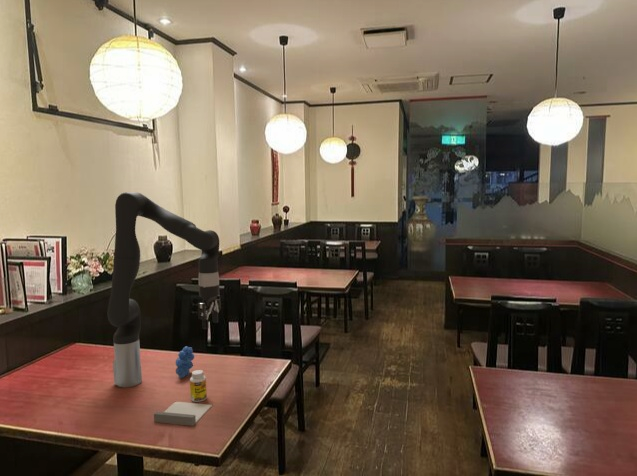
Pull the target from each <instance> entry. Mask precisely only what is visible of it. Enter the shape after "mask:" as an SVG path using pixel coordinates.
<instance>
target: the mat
mask: <svg viewBox="0 0 637 476" xmlns="http://www.w3.org/2000/svg"><path fill="white" fill-rule="evenodd" d="M212 407H213V405H212V404H206V403H205V404H204V403H197V402H184V401H175V402H174V403H172V404H171V405H170V406H169V407H167V408H166V410H164V411H158V410H156V411H154V413H153V422H154V423H161V424H171V425H182V426H188V427H190V426H191V427H194V426H195V425H196V424H197V423H198V421H200V420H201V418H203V416H205V414H206V413H207V412H208V411H209V410H210V409H211V408H212Z"/></svg>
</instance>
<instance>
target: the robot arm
mask: <svg viewBox="0 0 637 476" xmlns="http://www.w3.org/2000/svg"><path fill="white" fill-rule="evenodd" d="M114 204H115V205H114V206H115V207H114V208H115V210H114V211H115V212H114V213H115V235H114V236H115V237H114V253H113V260H112V261H113V263H112V264H113V265H112V266H113V268H112V276H111V277H112V280H111V290H110V295H109V300H108V301H109V302H108V305H107V313H106V314H107V320H108V322H109V323H110V324H111V326H113V327H116V328H117V329H116V331H115V332H114V334H113V336H112V337H113V338H112V340H113V350H114V351H113V352H114V360H113V361H112V368H113V370H112V371H113V383H114V385H115V386H117V387H119V388H131V387H135V386H138V385H139V384H140V383H142V381H143V375H142V362H141V361H142V359H141V347H140V333H141V329H142V328H141V327H142V325H141V323H142V322H141V309H140V306H139V303H138V302H137V301H136V300H135V299H133V298H130V297H131V291H132V287H133V285H134V283H135V281H136V279H137V275H138V272H139V271H140V270H139V269H140V264H141V263H140V262H141V248H140V244H139V241H138V238H137V235H136V223H137V217H142V218H144V219H145V218H146V219H148V220H150V221H153V222H155V224H156V223H157V224H158V225H159V226H160V227H161V228H162V229H164V230H165V231H166V232H169V233H170V234H172V235H173V236H176V237H178V238H179V239H182V240H184V241H186V242H187V243H188V244H190V245H191V246H193V247H194V248H196V249H198V250H201V256H200V257H199V258H198V297H200V298H201V299H202V302H198V303H197V317H198V320H201V326H202V327H201V328H202V330H208V329H209V326H210V324H209V318H210V317H209V316H210V314H211V320H212V323H215V324H216V323H218V322H219V312H220V310H221V309H222V304H221V303H222V302H221V295H220V294H221V293H220V276H219V275H220V274H219V263H218V259H219V252H220V237H219V235H218V233H217V232H216V231H214V230H211V229H209V230H202V229H200V228H199V227H197V226H196V224H195V223H194V222H192V221H189V220H188V219H185V218H184V217H181V216H179V215H178V214H175V213H173V212H171V211H169V210H167V209H165V208H164V207H162V206H160V205H158V204H157V203H155V202H154V201H153V200H151V199H150V198H148V197H147V196H146V195H144V194H142V193H141V192H138V191H127V192H123V193H121V194H119V195H117V197H116V200H115V203H114Z"/></svg>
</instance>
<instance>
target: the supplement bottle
mask: <svg viewBox="0 0 637 476" xmlns="http://www.w3.org/2000/svg"><path fill="white" fill-rule="evenodd" d="M189 387H190V390H189V391H190V400H191V402H192V403H200V402H201V403H202V402H204V401H206V399H207V377H206V375H205V374H204V370H202V369H196V370H193V371H192V372H191V377H190V378H189Z"/></svg>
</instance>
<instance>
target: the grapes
mask: <svg viewBox="0 0 637 476" xmlns="http://www.w3.org/2000/svg"><path fill="white" fill-rule="evenodd" d="M177 356H178V358H176V360H175V366H176V369H175V374H176V375H177V376H178V378H179V379H183V378H184V377H187V376H188V375H189V374H190V370H191V369H192V368H193V366H194V363H193V362H192V361H194V359H195V354H194V350H193V347H189V346H187V345H186V346H184V347H182V349H181V350H180V351H179V353H178V354H177Z"/></svg>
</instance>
